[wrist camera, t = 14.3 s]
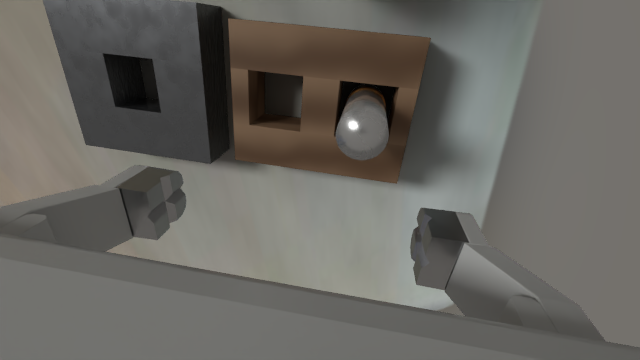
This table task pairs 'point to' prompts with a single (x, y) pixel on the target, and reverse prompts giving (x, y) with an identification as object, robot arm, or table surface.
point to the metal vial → (363, 123)
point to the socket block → (126, 79)
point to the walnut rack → (320, 93)
